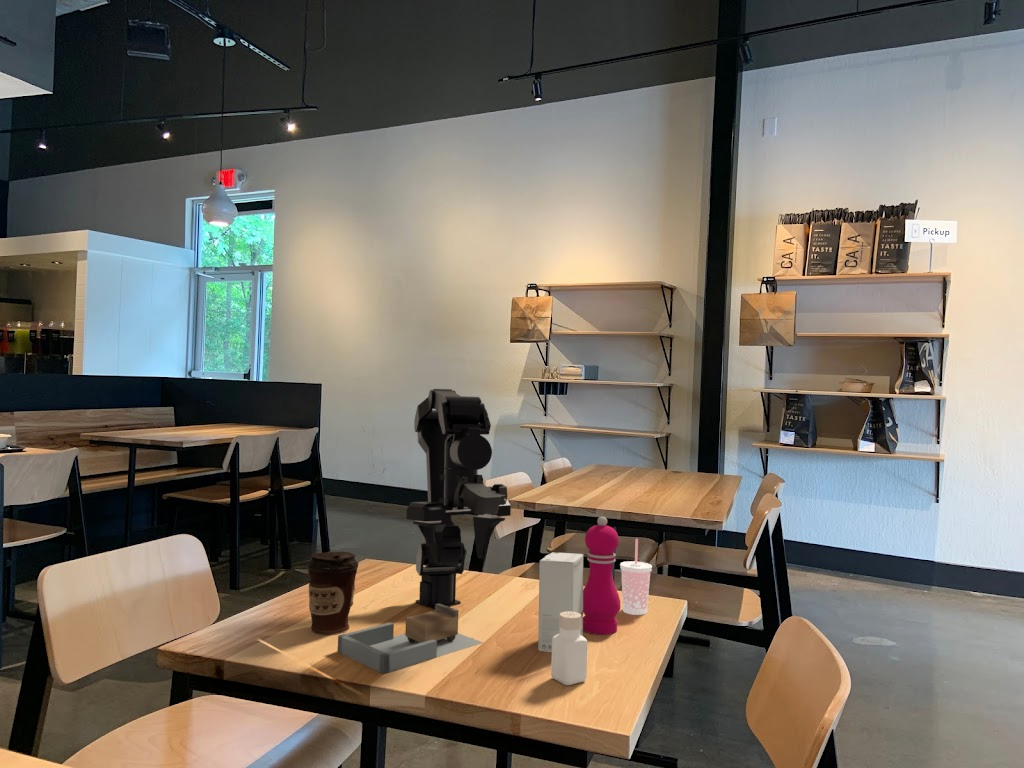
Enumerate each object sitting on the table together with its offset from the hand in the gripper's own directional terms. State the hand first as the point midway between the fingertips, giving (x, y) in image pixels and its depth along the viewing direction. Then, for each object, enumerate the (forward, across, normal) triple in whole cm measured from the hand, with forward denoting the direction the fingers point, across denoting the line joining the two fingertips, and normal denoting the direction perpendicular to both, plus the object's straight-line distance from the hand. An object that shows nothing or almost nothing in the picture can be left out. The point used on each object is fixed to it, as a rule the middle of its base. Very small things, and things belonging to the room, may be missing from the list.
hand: (459, 560), depth 124 cm
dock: (+13, -9, 0) cm, 16 cm away
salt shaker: (+15, +2, -24) cm, 28 cm away
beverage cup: (+12, +36, -9) cm, 39 cm away
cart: (+12, -5, 0) cm, 14 cm away
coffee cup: (+12, -16, +16) cm, 25 cm away
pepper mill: (+13, +23, -12) cm, 28 cm away
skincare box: (+14, +11, -13) cm, 22 cm away
